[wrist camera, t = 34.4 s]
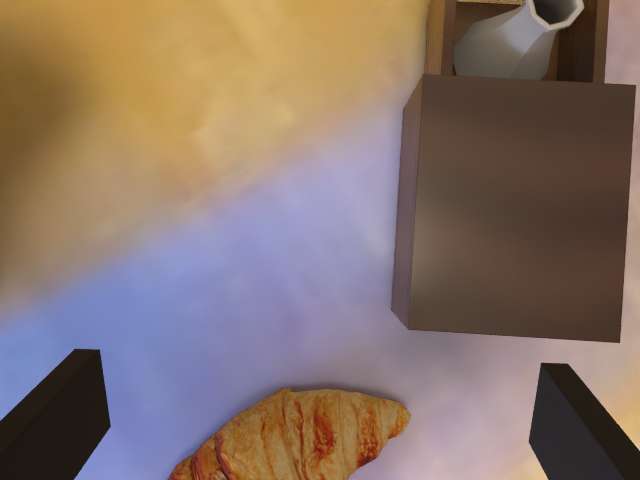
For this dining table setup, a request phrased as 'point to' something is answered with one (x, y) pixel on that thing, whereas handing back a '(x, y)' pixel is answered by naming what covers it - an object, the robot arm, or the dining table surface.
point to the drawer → (567, 50)
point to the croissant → (298, 438)
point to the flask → (514, 40)
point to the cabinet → (513, 207)
